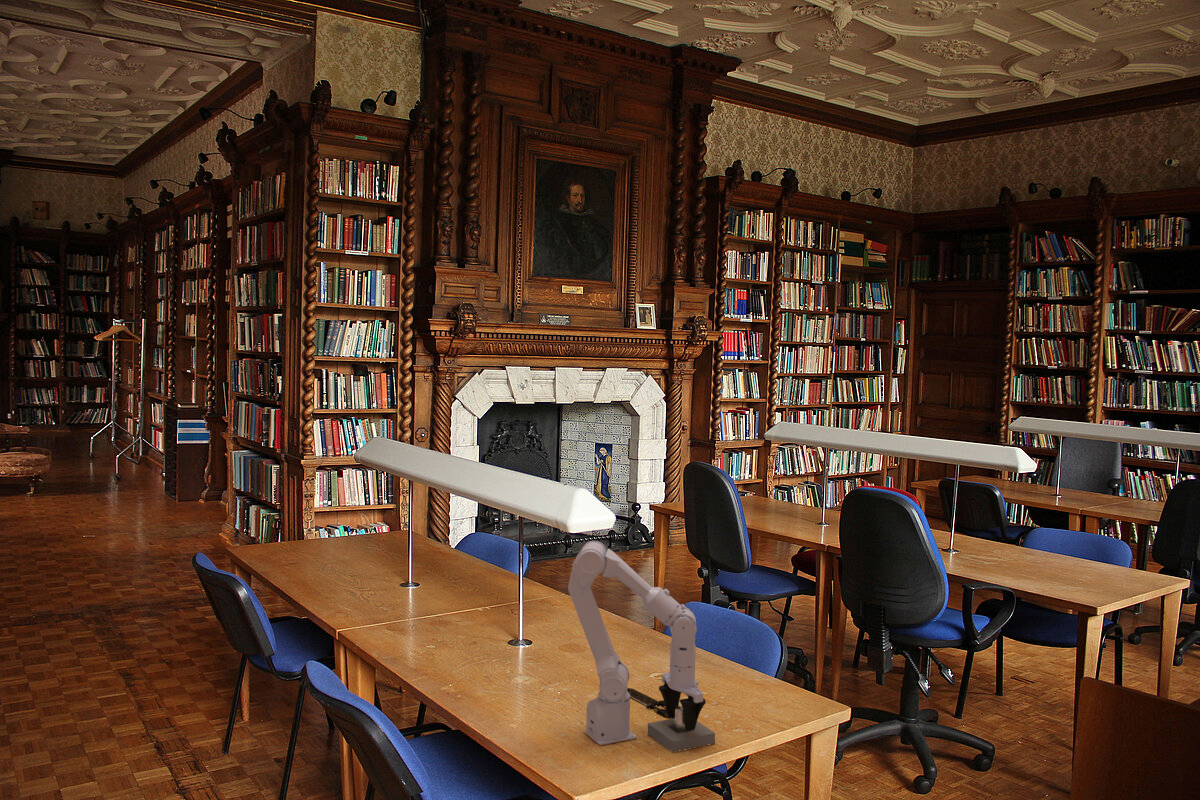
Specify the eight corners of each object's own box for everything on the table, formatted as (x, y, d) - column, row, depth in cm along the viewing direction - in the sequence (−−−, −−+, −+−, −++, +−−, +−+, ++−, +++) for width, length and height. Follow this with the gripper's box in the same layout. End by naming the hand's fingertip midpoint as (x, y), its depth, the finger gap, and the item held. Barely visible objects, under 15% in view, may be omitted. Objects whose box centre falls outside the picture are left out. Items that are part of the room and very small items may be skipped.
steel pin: (678, 742, 207) (679, 711, 207) (672, 737, 210) (672, 707, 209) (690, 740, 208) (690, 709, 208) (683, 735, 211) (683, 705, 211)
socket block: (672, 752, 202) (672, 741, 201) (647, 733, 211) (647, 723, 211) (714, 743, 207) (715, 732, 206) (688, 726, 216) (688, 715, 216)
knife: (612, 690, 240) (612, 685, 240) (633, 686, 243) (633, 681, 243) (667, 724, 218) (667, 718, 218) (690, 719, 221) (690, 713, 221)
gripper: (715, 671, 203) (713, 732, 204) (680, 652, 216) (679, 709, 217) (688, 675, 200) (686, 737, 201) (654, 656, 213) (653, 713, 214)
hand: (681, 723), depth 209 cm, fingers open, 7 cm apart
